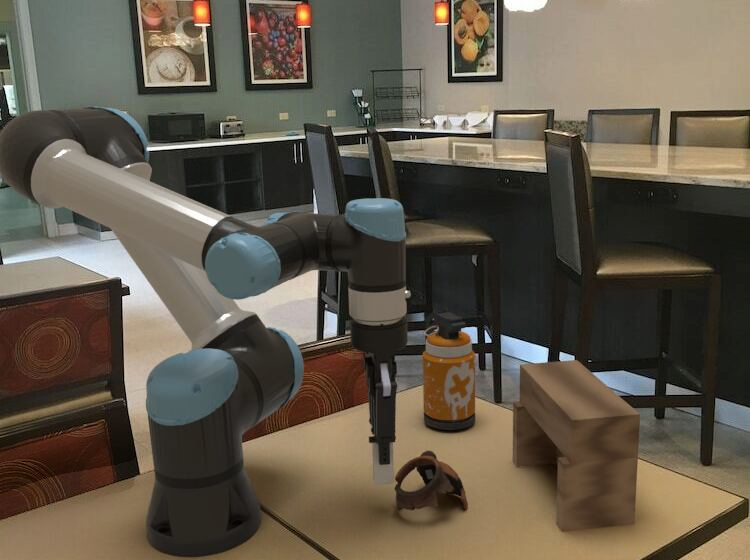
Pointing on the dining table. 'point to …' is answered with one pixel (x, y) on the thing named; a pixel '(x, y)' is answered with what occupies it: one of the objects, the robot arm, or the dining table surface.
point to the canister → (448, 373)
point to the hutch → (579, 442)
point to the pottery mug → (428, 482)
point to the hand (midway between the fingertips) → (383, 481)
